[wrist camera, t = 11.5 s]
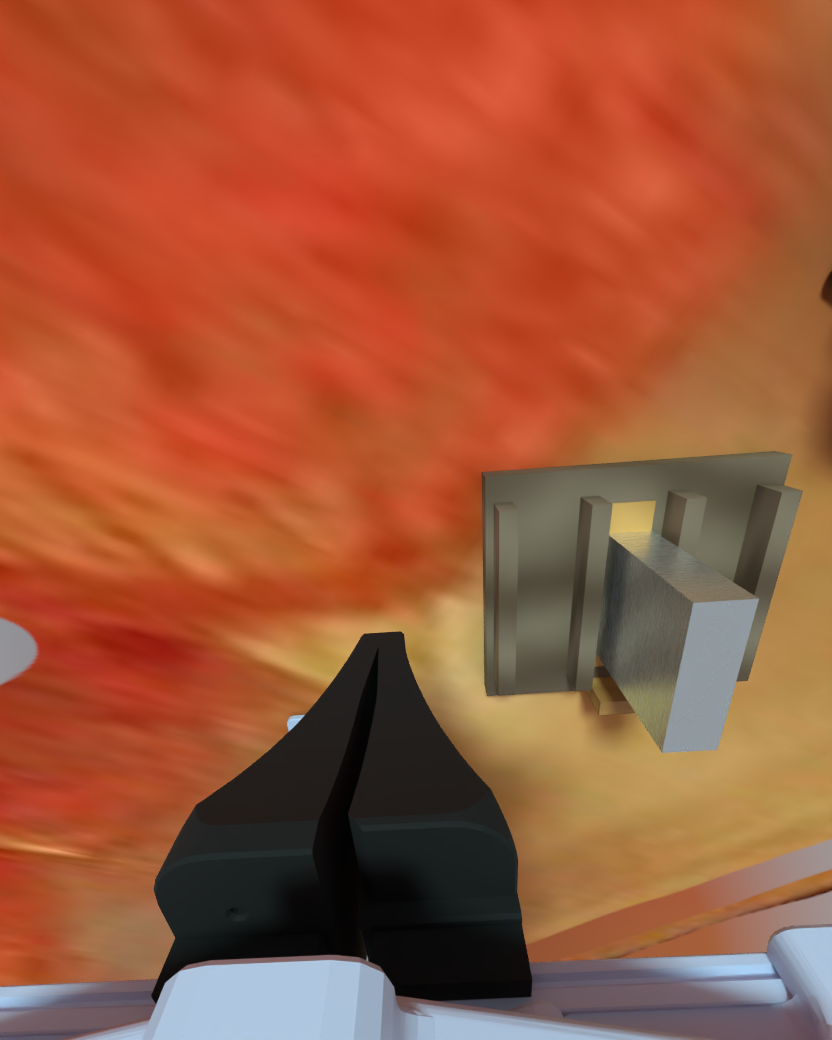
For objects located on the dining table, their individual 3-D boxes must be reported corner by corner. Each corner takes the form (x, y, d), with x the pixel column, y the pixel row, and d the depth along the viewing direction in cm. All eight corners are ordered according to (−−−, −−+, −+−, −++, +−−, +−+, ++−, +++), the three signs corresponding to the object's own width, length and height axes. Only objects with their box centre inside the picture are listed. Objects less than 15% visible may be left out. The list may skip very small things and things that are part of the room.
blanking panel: (634, 648, 24) (717, 749, 17) (594, 650, 24) (662, 752, 18) (652, 530, 21) (759, 598, 15) (607, 533, 21) (693, 602, 15)
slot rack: (719, 670, 26) (756, 705, 23) (484, 684, 26) (493, 721, 24) (775, 451, 21) (831, 462, 18) (481, 472, 21) (492, 486, 18)
